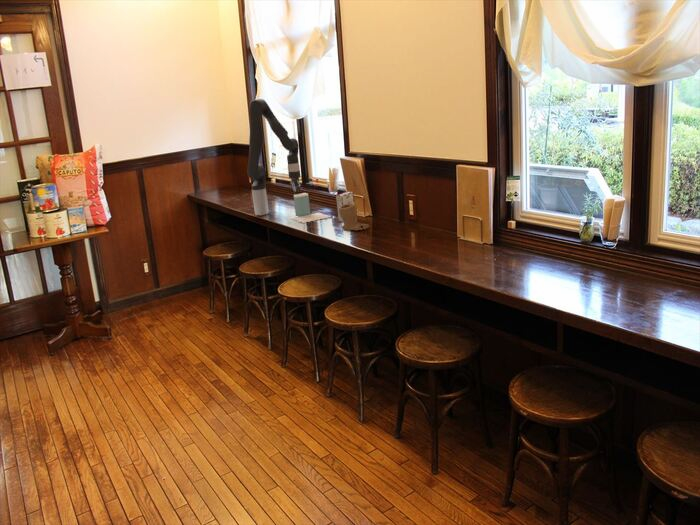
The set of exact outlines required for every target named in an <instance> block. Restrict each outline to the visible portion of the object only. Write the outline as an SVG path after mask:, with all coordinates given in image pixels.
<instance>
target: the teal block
mask: <svg viewBox="0 0 700 525" xmlns="http://www.w3.org/2000/svg"><path fill="white" fill-rule="evenodd" d="M293 202H294V203H293V204H294V211H295V212H294V213H295V216H298V217H300V216H305V215H310V214H311V209H310V198H309V193H307V192H303V193H299V194H296V195H295V194H293Z"/></svg>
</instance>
